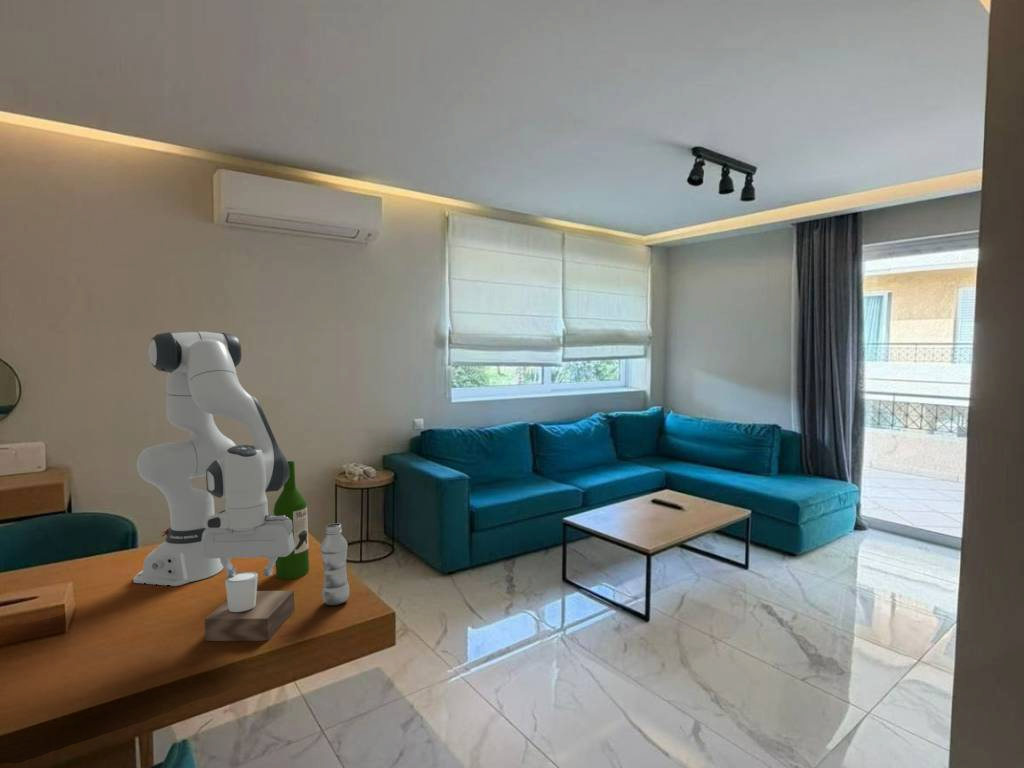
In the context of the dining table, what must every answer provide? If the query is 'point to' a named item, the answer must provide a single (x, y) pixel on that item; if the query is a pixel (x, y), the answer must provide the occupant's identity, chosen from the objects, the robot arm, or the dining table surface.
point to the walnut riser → (251, 618)
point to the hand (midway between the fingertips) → (249, 575)
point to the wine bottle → (295, 510)
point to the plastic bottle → (334, 566)
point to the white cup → (241, 591)
